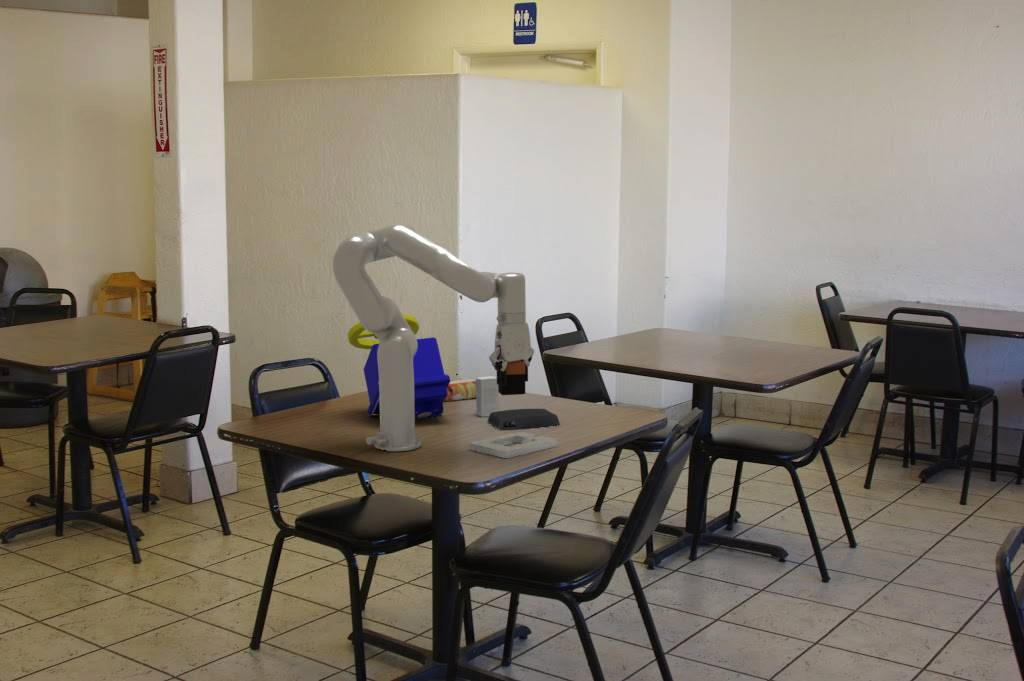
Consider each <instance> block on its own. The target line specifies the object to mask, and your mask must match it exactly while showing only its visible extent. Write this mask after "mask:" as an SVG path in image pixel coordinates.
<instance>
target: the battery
mask: <svg viewBox="0 0 1024 681" xmlns="http://www.w3.org/2000/svg"><path fill="white" fill-rule="evenodd" d="M502 363H503V362H501V365H502ZM504 371H506V372H507V385H506V386H502V385H498V394H500V395H501V396H515V395H516V396H517V395H519V396H520V395H525V394H526V382H525V361H523V360H520V361H514V362H508V363H507V365H506V368H505V370H504Z"/></svg>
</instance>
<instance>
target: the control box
mask: <svg viewBox="0 0 1024 681" xmlns="http://www.w3.org/2000/svg"><path fill="white" fill-rule="evenodd" d="M402 315H403V317H404V318H405V320H406V322H407V323H408V325H409V326H410V328H411V330H412V331H413V333H414V335H415V336H416V335H417V334H418V332H419V330H420V326H419V325H420V324H419V321H418V320H417V318H416V317H415V316H413V315H411V314H406V313H402ZM370 337H371V338H372V337H374V339H364V338H370ZM347 338H348V343H349V344H350V346H353V347H354V348H357V349H363V350H370V351H369V354H368V356H367V360H366V362H365V364H364V367H363V374H364V379H365V384H366V389H367V394H368V399H369V400H368V401H369V405H368V406H367V415H368V414H369V415H373V414H380V394H379V370H378V360H377V351H378V347H379V344H380V341H379V340H378V338H377V336H376V335H375V333H371V332H369V331H367V330H366V329H365V328H364V327H363V326H362V324H361V323H360V321H359V322H358V323H356V324H354V325H353V326H352V327H351V328H350V329H349V330H348V332H347ZM416 339H417V343H418V348H417V352H416V354H415V356H414V357H413V370H414V401H415V421H416V420H420V419H436V417H438V416H437V415H440V414H443V413H444V403H445V402H444V400H445V398H446V397H447V395H448V393H447V387H448V385H449V383H450V381H451V377H450V375H449V374H448V373H445V371H444V366H443V362H442V358H441V353H440V349H439V345H438V341H437V338H436V337H433V336H432V337H425V338H423V337H422V336H420V337H416ZM369 415H368V416H369Z"/></svg>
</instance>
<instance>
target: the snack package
mask: <svg viewBox="0 0 1024 681" xmlns="http://www.w3.org/2000/svg"><path fill="white" fill-rule="evenodd" d="M476 378H477V377H473V378H467V379H458V380H450V383H449V385H448V387H447V393H448V395H447V397H446V398H445V400H444V401H446V402H454V401H453V400H455V401H462V400H463V399H464V400H473V399H472V398H475V399H476ZM464 400H463V401H464Z"/></svg>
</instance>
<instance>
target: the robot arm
mask: <svg viewBox="0 0 1024 681" xmlns="http://www.w3.org/2000/svg"><path fill="white" fill-rule="evenodd" d="M393 257H397V258H398V259H400V260H401V261H404V262H405V263H408V264H410V265H411V266H414V267H415V268H417V269H419V270H420V271H421V272H422V271H423V272H424V273H425V274H427V275H429V276H431V277H432V278H433V279H435V280H437V281H439V282H440V283H442V284H444V285H445V286H446V287H449V288H450V289H452V290H454V291H455V292H457V293H458V294H460V295H463V296H464V297H466V298H468V299H470V300H472V301H474V302H477V303H486V302H489V301H490V300H491V299H496V298H497V317H496V321H497V324H496V328H495V337H494V338H495V339H494V350H493V352H492V353H491V354H490V355H489V356H488V359H489V361H490V363H491V366H493V367H494V368H493V369H494V370H495V371H496V377H497V385H502V386H506V385H507V372H506V371H504V370H505V368H506V365H507V363H508V362H514V361H520V360H523V361H525V383H526V382H529V367H530V363H531V362H532V360H533V357H534V354H535V350H534V348H532V346H531V344H532V342H531V334H530V327H529V323H528V322H527V320H526V315H527V313H526V276H525V275H524V274H523V273H520V272H503V273H502V272H501V273H497V272H489V271H481V272H480V271H479V270H476V268H473V267H471V266H470V265H468V264H466V263H465V262H463V261H462V260H460V259H458V258H457V257H456V256H455V255H454V254H453V253H452V252H451V251H450V250H449V249H448V248H446V247H445V246H443V245H442V244H440V243H438V242H436V241H434V240H433V239H430V238H429V237H427V236H425V235H423V234H421V233H420V232H419V231H417V230H416V229H415V228H414V227H413V226H412V225H410V224H409V223H405V222H399V223H398V222H397V223H394V224H391V225H389V226H386V227H382V228H378V229H374V230H369V231H366V232H360V233H359V232H358V233H355V234H351V235H349V236H347V237H346V238H344V240H342V242H341V243H339V245H338V246H337V249H336V251H335V253H334V256H333V261H332V271H333V275H334V277H335V280H336V283H337V284H338V286H339V288H340V289H341V292H342V293H343V295H344V297H345V298H346V300H347V302H348V304H349V305H350V307H351V309H352V311H353V312H354V313H355V316H356V317H357V318H358V321H359V322H360V323H361V324H362V326H363V327H364V328H365V329H366V330H365V331H366V332H367V331H369V332H371V333H375V335H376V336H377V338H378V339H377V340H379V341H380V344H379V347H378V351H377V360H378V370H379V394H380V415H379V431H376V435H374V436H369V437H366V439H365V442H366V444H367V445H374V448H375V447H376V448H375V449H377V448H378V449H377V450H379V449H381V450H380V451H383V450H386V451H385V452H406V451H412V450H413V451H414V450H416V449H419V448H420V447H421V445H422V444H421V440H419V439H418V438H416V423H415V422H416V420H415V401H414V370H413V357H414V356H415V354H416V352H417V348H418V343H417V339H416V338H417V337H416V334H415V335H414V333H413V331H412V330H411V328H410V326H409V325H408V323H407V322H406V320H405V318H404V317H403V315H402V314H403V313H402V312H401V310H400V309H399V307H398V305H397V303H395V302H394V301H393V300H392V299H391V298H389V297H388V296H384V295H382V294H381V292H380V291H379V289H378V288H377V286H376V285H375V282H374V281H373V279H372V278H371V277H370V275H369V273H368V272H367V271H366V265H367V264H369V263H372V262H377V261H382V260H385V259H388V258H393ZM501 362H503V363H502V365H501Z"/></svg>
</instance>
